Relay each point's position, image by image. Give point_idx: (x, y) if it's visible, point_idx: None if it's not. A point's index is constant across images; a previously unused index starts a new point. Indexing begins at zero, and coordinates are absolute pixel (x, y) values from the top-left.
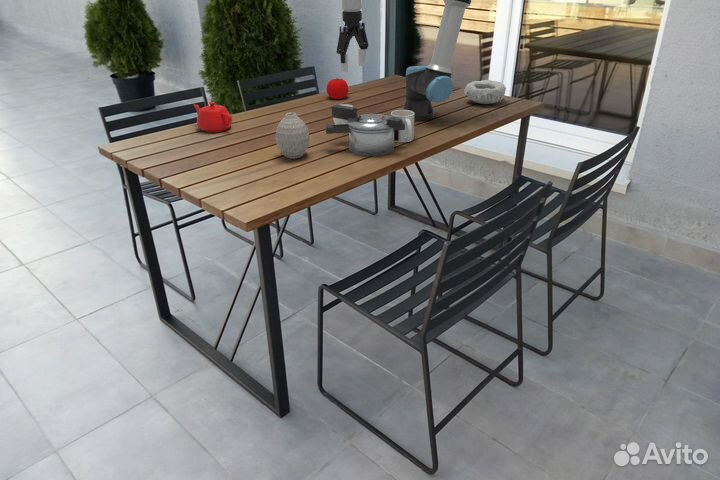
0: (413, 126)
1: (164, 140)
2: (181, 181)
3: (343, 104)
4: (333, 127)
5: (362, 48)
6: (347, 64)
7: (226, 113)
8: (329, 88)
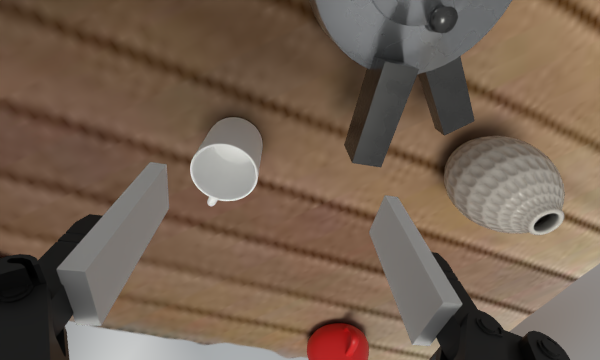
0: None
1: (406, 352)
2: (593, 255)
3: (197, 185)
4: (469, 98)
5: (58, 305)
6: (406, 229)
7: (350, 350)
8: None
